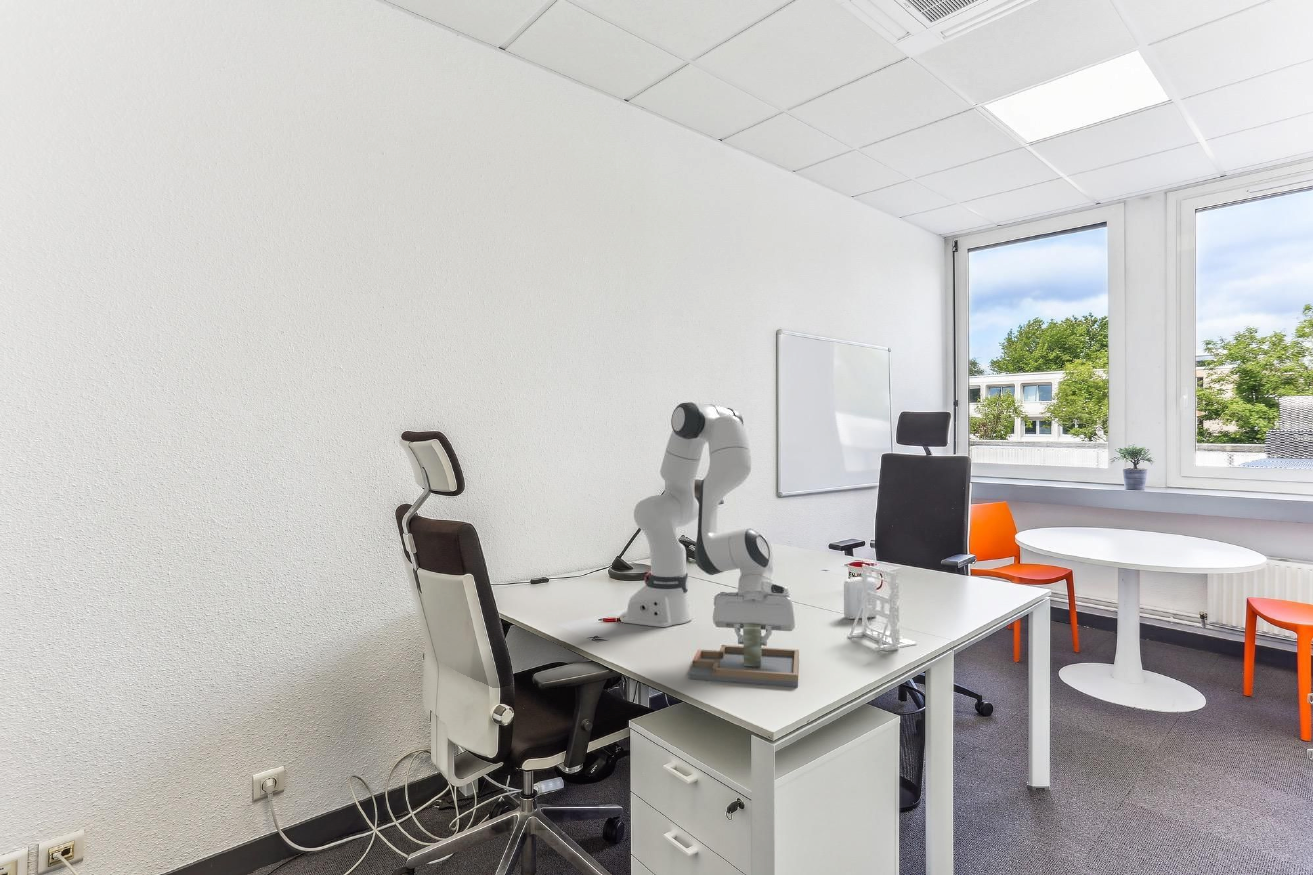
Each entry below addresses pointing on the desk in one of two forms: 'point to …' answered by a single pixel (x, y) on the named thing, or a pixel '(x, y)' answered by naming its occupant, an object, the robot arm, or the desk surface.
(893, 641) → the white perforated frame
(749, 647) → the green peg
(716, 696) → the desk surface
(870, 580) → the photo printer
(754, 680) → the keyhole dock
